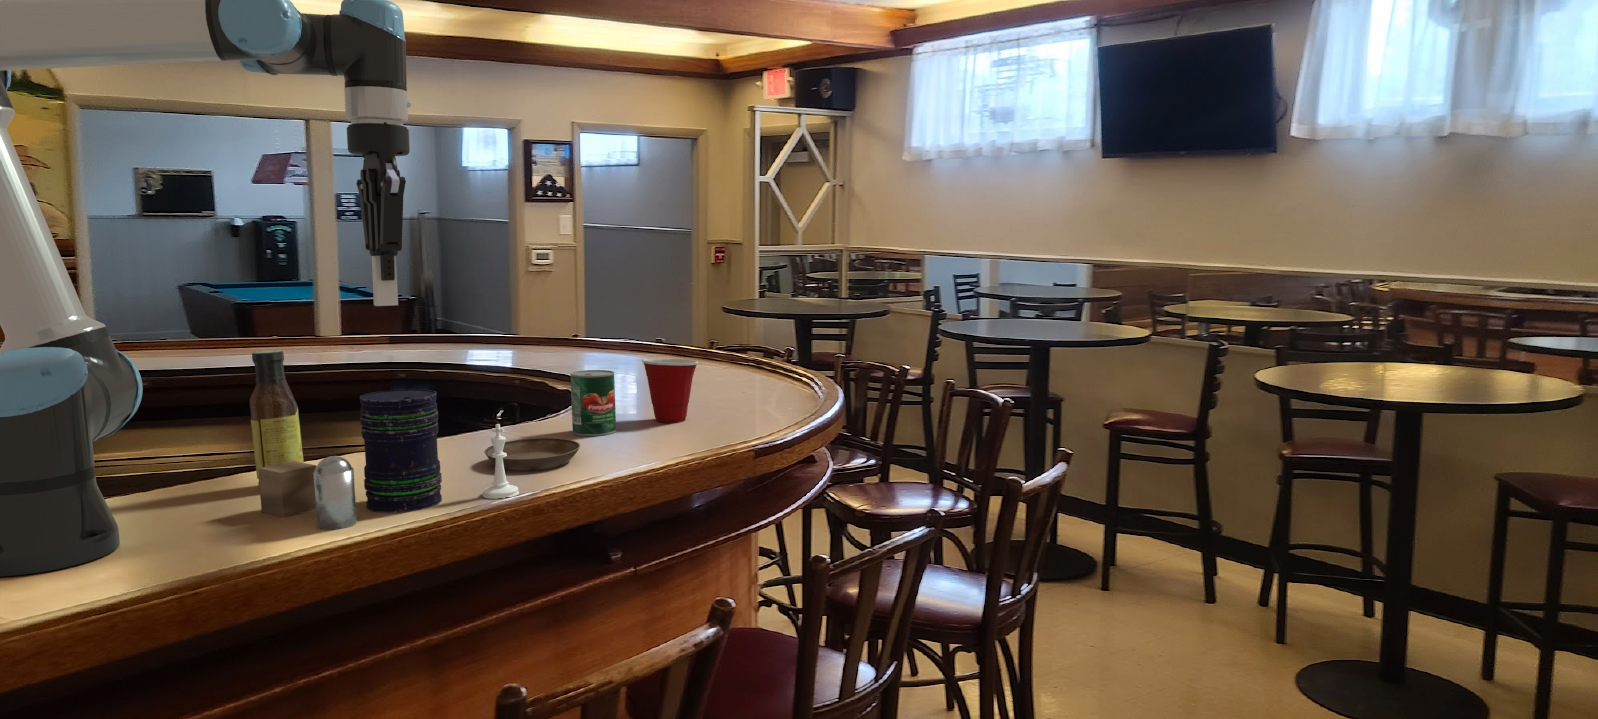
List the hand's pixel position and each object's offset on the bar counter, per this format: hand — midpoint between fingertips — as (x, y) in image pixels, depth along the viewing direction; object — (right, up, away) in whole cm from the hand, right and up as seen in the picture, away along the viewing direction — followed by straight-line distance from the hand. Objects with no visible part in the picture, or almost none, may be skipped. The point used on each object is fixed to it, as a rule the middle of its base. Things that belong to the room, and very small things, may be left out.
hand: (386, 305), depth 138 cm
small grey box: (-13, -27, 0) cm, 30 cm away
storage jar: (+1, -27, +4) cm, 27 cm away
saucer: (+13, -24, +28) cm, 39 cm away
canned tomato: (+18, -21, +52) cm, 58 cm away
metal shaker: (-4, -28, -6) cm, 29 cm away
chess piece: (+13, -26, +8) cm, 30 cm away
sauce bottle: (-20, -26, +13) cm, 36 cm away
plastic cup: (+30, -19, +63) cm, 72 cm away
